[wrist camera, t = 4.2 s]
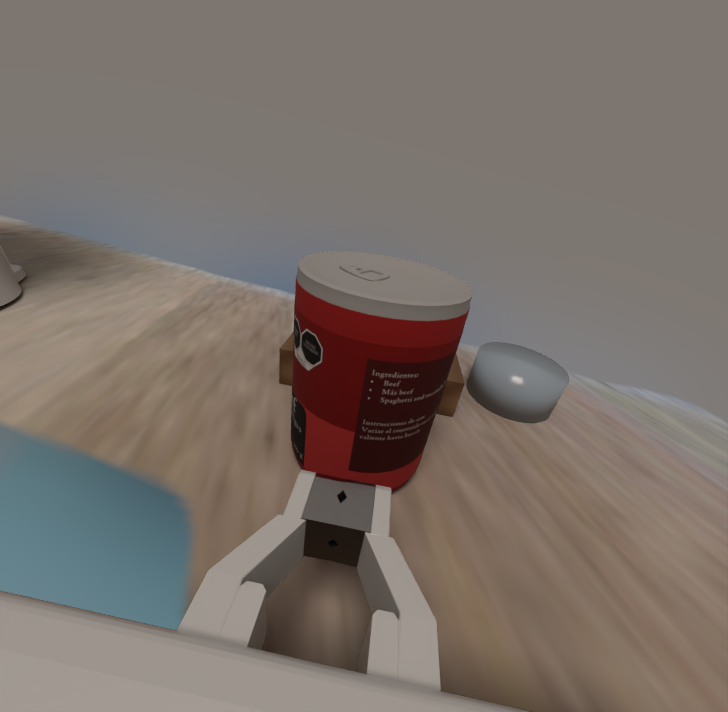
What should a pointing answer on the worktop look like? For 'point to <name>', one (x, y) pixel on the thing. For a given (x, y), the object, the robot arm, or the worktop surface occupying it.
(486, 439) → the worktop surface
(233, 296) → the worktop surface
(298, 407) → the canned food
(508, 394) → the grey rounded cylinder
